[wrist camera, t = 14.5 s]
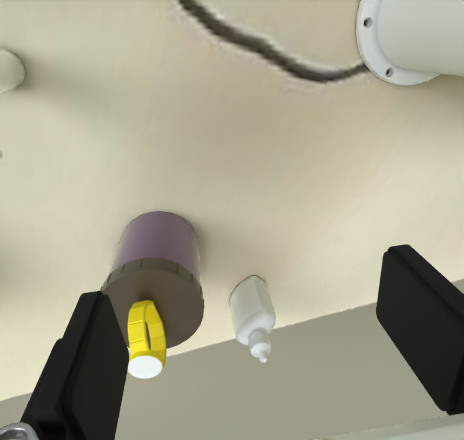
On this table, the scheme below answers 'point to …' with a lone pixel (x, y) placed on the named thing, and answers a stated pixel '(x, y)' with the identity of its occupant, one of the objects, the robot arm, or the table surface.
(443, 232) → the table surface
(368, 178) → the table surface
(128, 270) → the jar lid
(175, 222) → the jar
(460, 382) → the robot arm
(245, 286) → the eye dropper bottle
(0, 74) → the milkshake
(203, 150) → the table surface
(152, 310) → the watch
